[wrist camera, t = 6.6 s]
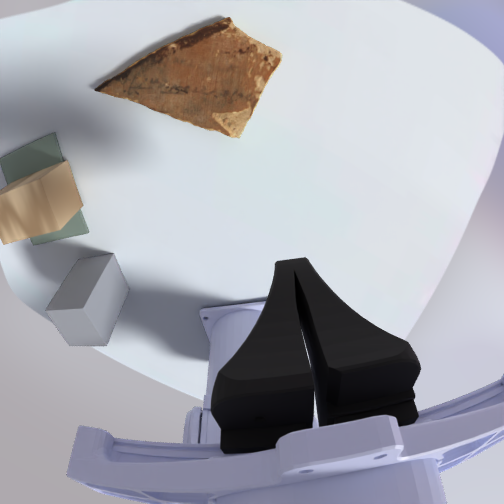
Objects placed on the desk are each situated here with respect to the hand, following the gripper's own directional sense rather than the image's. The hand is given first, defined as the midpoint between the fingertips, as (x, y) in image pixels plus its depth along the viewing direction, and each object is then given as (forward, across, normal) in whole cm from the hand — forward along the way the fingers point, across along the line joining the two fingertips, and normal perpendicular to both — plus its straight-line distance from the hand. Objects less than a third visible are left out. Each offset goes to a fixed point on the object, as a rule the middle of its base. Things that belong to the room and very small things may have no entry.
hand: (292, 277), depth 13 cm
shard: (+11, +4, -8) cm, 14 cm away
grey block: (+10, +16, +6) cm, 20 cm away
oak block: (+8, +15, -4) cm, 17 cm away
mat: (+10, +19, -4) cm, 22 cm away
